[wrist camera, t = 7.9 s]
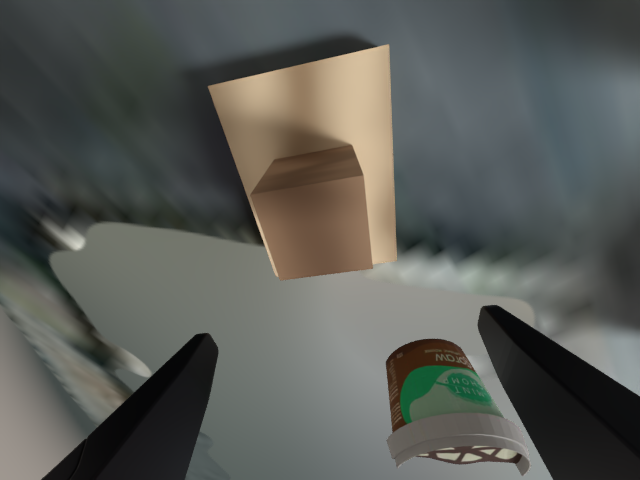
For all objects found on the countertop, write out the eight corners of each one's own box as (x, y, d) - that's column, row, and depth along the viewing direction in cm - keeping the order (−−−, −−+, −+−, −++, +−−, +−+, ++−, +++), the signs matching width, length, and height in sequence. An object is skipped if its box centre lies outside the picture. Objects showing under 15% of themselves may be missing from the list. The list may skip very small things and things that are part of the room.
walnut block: (352, 144, 16) (363, 175, 11) (360, 216, 18) (372, 268, 13) (274, 159, 16) (249, 194, 11) (292, 226, 19) (279, 280, 14)
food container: (496, 335, 28) (570, 448, 19) (474, 368, 31) (529, 476, 23) (384, 327, 28) (409, 437, 19) (373, 361, 31) (391, 468, 22)
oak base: (382, 48, 15) (388, 44, 13) (391, 247, 22) (396, 260, 20) (220, 85, 16) (207, 86, 14) (279, 262, 23) (276, 276, 21)
